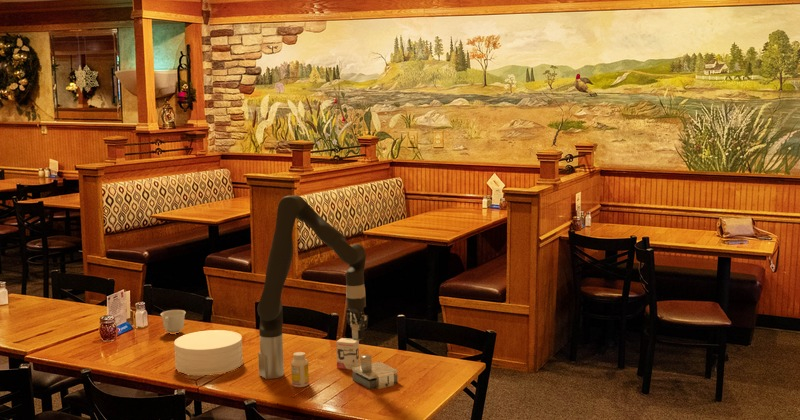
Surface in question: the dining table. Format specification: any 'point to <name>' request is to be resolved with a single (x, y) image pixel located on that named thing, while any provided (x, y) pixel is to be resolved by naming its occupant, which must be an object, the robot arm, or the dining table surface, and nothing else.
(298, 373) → the supplement bottle
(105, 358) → the dining table surface
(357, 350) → the ink box
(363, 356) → the cylinder
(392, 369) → the pan
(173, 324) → the teacup
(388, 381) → the scale base
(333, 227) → the robot arm
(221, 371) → the plate stack
